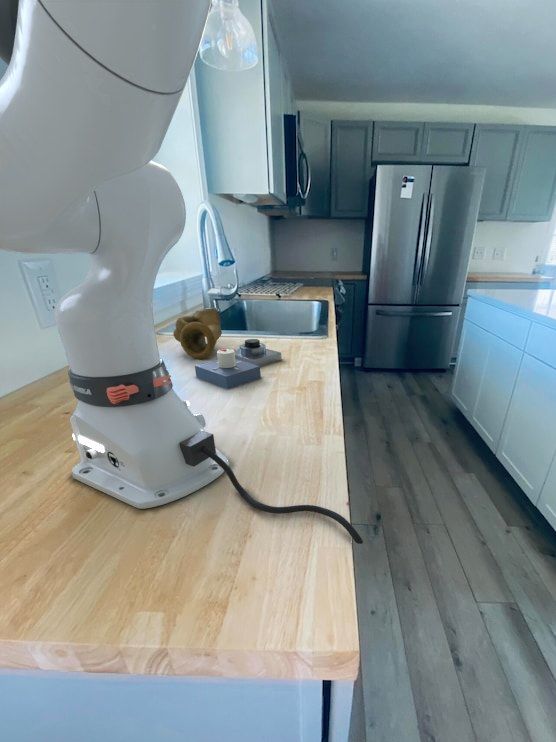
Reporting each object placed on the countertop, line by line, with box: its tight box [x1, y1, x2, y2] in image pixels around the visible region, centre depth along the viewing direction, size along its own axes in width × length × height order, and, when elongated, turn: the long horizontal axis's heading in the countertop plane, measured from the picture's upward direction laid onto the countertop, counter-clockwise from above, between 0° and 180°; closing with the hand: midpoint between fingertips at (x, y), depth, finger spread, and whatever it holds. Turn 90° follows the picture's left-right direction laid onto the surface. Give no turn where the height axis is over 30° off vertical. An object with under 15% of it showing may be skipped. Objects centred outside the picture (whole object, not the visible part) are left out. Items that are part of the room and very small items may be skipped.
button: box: [244, 338, 261, 348], centre depth 100 cm, size 4×4×2 cm
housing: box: [233, 342, 282, 367], centre depth 101 cm, size 12×10×4 cm
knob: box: [216, 347, 236, 368], centre depth 86 cm, size 4×4×4 cm
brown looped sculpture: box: [172, 307, 223, 360], centre depth 109 cm, size 18×13×22 cm
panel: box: [194, 359, 262, 390], centre depth 88 cm, size 12×10×3 cm
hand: (121, 227), depth 67 cm, fingers open, 8 cm apart
